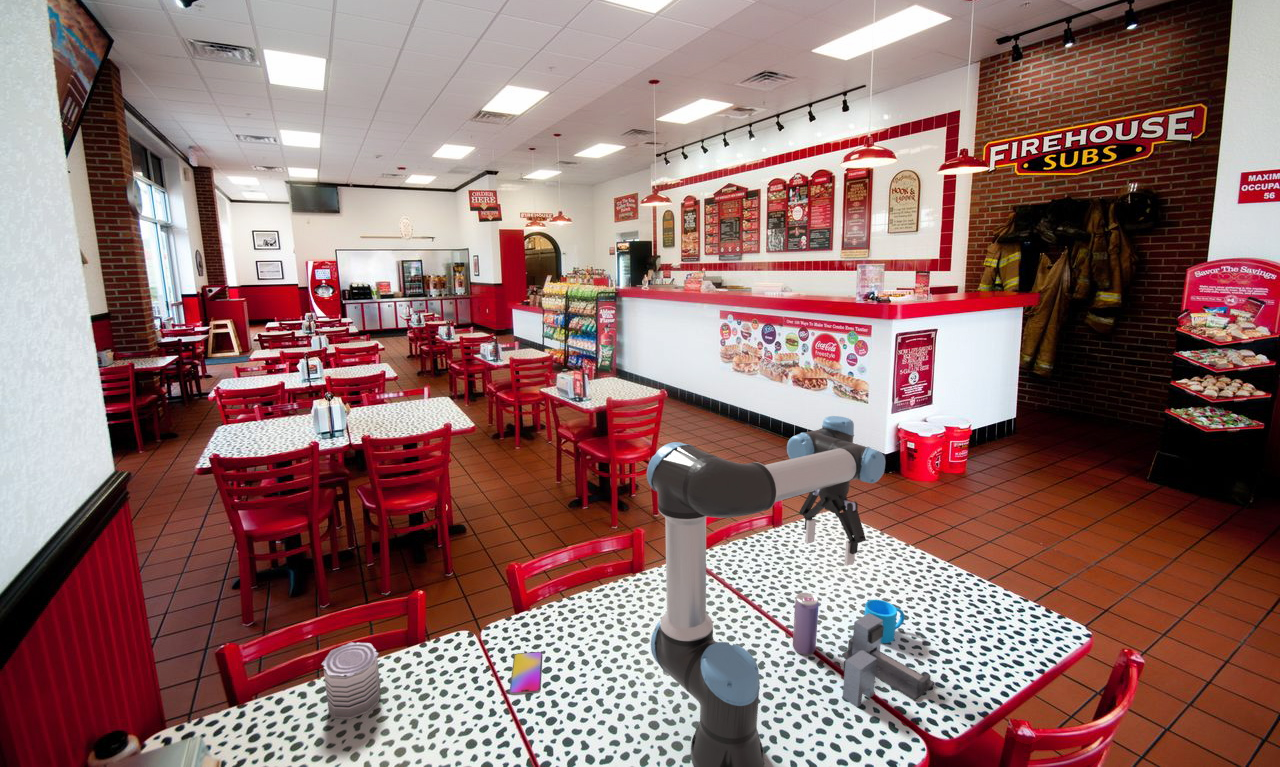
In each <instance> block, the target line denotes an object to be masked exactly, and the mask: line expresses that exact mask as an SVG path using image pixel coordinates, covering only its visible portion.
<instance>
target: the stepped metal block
mask: <svg viewBox="0 0 1280 767" xmlns="http://www.w3.org/2000/svg"><path fill="white" fill-rule="evenodd" d="M876 663H877V658H875V657H873V656H872V655H870V654H868V653H867V652H865V651H863V650H861V651H859V652H858V653H856V654H854V655H853V656H851V657H850V658H848V659H845V660H844V662H843V673H844V674H843V686H842V687H843V688H842V699H844V700H846V701H847V702H849V703H850V704H851V705H853V706H855V707H856V708H858V707H860V706H861V705H862V701H863V700H862V699H863V696H865V697H868V699H871V697H874V693H875V692H874V691H875V683H876V677H875V673H876Z"/></svg>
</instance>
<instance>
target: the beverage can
mask: <svg viewBox="0 0 1280 767" xmlns="http://www.w3.org/2000/svg"><path fill="white" fill-rule="evenodd" d="M819 606H820V604H819V598H818V597H817V596H816V595H815V594H812V593H809V592H800V593H798V594H797V595H796V598H795V601H794V614H793V615H794V616H793V617H794V618H793V632H792V633H793V634H792V648H793V649H794V651H795V652H796V653H798V654H799V655H802V656H803V655H804V656H809V655H812V654H814V652H815V651H816V649H817V647H816V646H817V633H818V619H819V618H818V617H819V609H820V608H819Z"/></svg>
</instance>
